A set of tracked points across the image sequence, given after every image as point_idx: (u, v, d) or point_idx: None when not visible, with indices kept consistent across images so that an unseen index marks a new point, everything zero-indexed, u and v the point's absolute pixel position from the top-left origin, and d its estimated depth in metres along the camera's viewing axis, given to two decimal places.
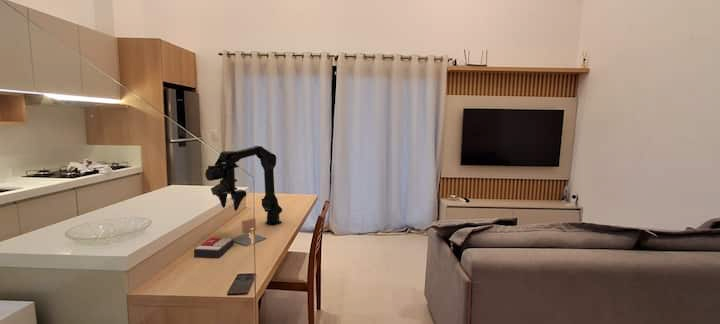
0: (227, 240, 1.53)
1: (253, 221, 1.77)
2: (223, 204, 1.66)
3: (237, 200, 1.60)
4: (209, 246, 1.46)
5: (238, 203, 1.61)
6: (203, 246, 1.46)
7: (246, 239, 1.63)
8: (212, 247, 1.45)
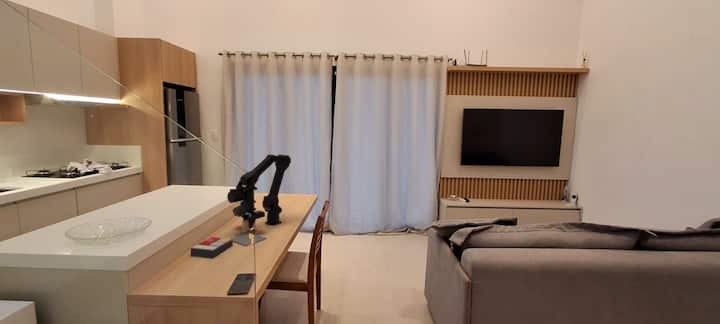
0: (225, 240, 1.53)
1: None
2: None
3: (252, 219, 1.74)
4: (206, 246, 1.46)
5: (253, 222, 1.75)
6: (200, 245, 1.47)
7: (246, 239, 1.63)
8: (208, 247, 1.45)
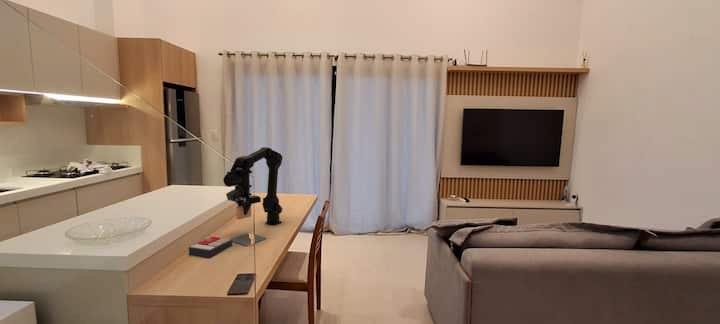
0: (224, 240, 1.53)
1: None
2: None
3: (247, 204, 1.64)
4: (204, 245, 1.46)
5: (248, 208, 1.64)
6: (199, 245, 1.47)
7: (246, 239, 1.63)
8: (206, 246, 1.45)
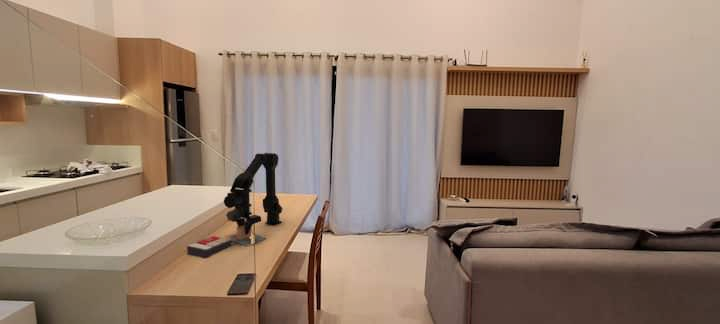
0: (223, 240, 1.53)
1: None
2: None
3: (248, 224, 1.62)
4: (202, 245, 1.47)
5: (250, 227, 1.63)
6: (197, 244, 1.48)
7: (246, 239, 1.63)
8: (203, 246, 1.45)
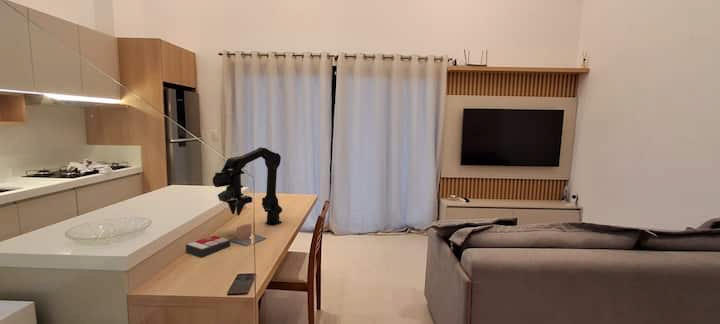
0: (222, 240, 1.53)
1: (249, 227, 1.65)
2: (233, 211, 1.67)
3: (240, 205, 1.64)
4: (200, 244, 1.48)
5: (241, 208, 1.65)
6: (196, 243, 1.49)
7: (246, 239, 1.63)
8: (200, 245, 1.46)
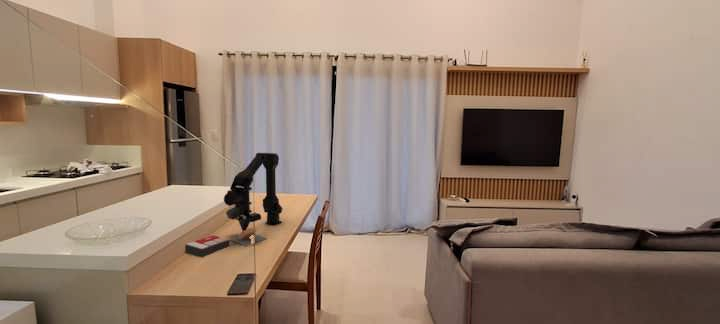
0: (221, 240, 1.53)
1: (253, 232, 1.64)
2: None
3: (246, 221, 1.63)
4: (199, 244, 1.48)
5: (247, 225, 1.64)
6: (195, 243, 1.49)
7: (246, 239, 1.63)
8: (200, 245, 1.46)
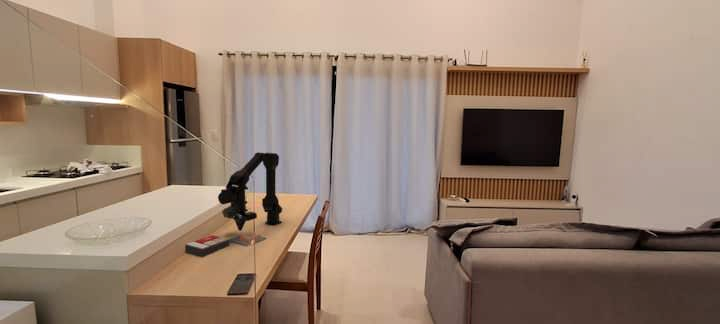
0: (221, 240, 1.54)
1: None
2: None
3: (242, 220, 1.65)
4: (199, 243, 1.48)
5: (243, 223, 1.66)
6: (195, 243, 1.49)
7: None
8: (200, 245, 1.46)
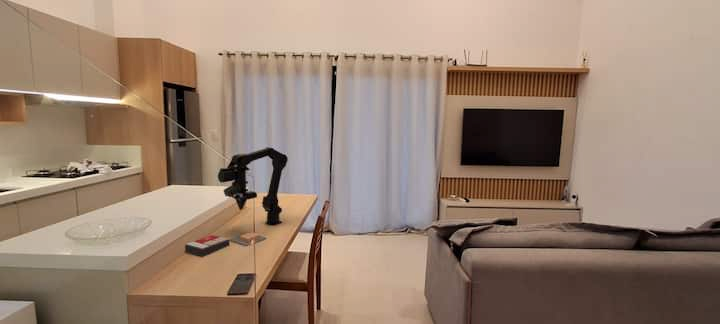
0: (221, 240, 1.54)
1: None
2: None
3: (242, 200, 1.71)
4: (199, 243, 1.48)
5: (244, 203, 1.71)
6: (195, 242, 1.49)
7: None
8: (200, 245, 1.47)
